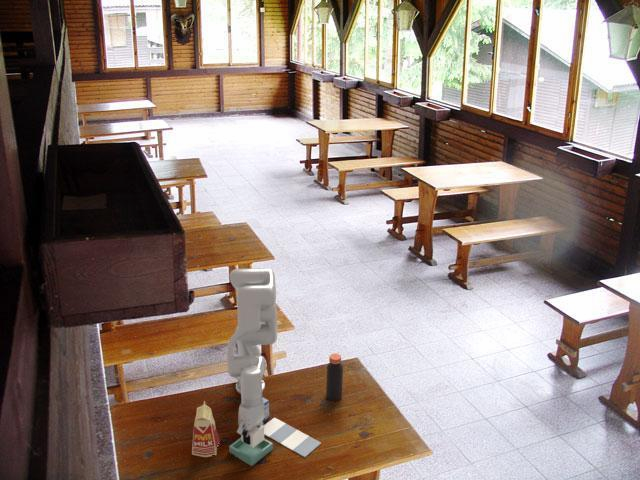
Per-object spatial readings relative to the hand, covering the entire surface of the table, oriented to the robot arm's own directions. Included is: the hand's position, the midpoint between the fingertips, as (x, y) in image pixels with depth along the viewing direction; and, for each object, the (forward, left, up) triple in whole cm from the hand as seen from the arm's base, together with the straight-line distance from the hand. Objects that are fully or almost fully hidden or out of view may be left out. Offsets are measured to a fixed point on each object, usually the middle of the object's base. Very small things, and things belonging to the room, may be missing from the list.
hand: (252, 438), depth 239 cm
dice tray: (-1, 0, -7) cm, 7 cm away
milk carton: (-15, -10, -7) cm, 19 cm away
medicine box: (-11, +15, -7) cm, 20 cm away
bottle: (+3, +47, -7) cm, 48 cm away
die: (0, 0, -1) cm, 1 cm away
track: (+5, +15, -7) cm, 17 cm away
